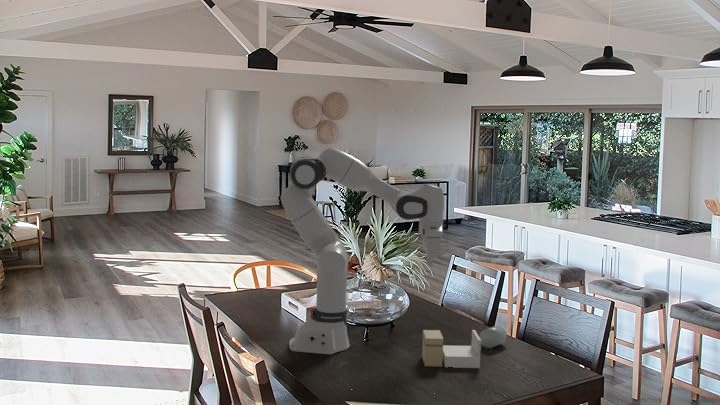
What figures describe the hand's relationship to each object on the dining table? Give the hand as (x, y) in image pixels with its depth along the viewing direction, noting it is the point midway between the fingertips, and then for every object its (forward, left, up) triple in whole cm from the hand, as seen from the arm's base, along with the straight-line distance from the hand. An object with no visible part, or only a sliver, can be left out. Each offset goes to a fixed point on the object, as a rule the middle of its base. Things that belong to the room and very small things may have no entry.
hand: (429, 265), depth 243 cm
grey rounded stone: (+23, -1, -28) cm, 36 cm away
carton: (+3, -16, -26) cm, 31 cm away
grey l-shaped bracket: (+10, -16, -31) cm, 36 cm away
